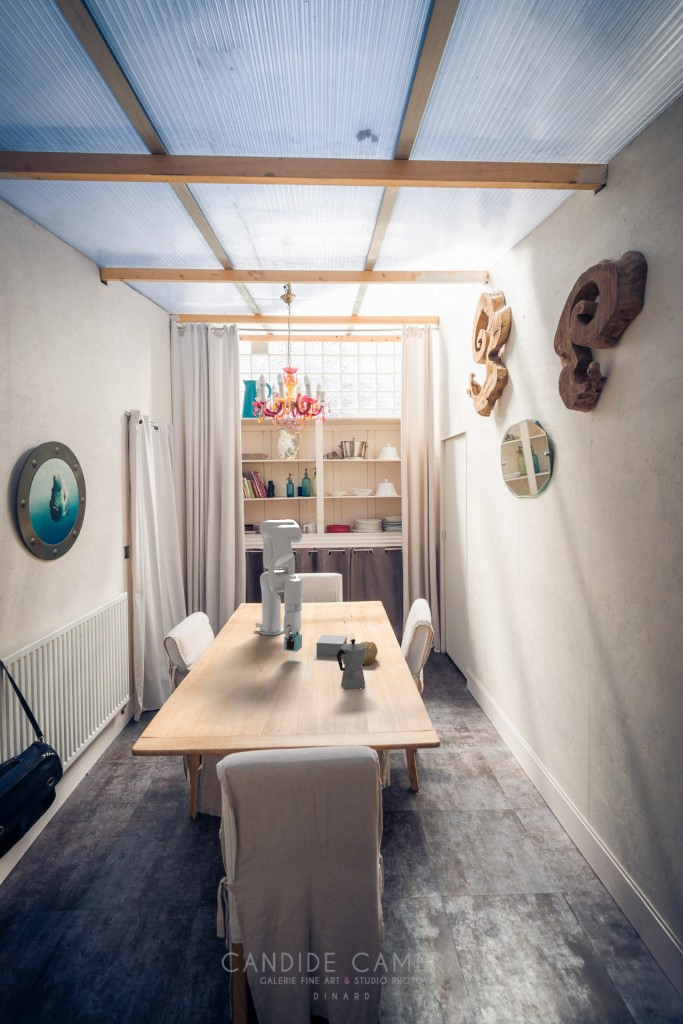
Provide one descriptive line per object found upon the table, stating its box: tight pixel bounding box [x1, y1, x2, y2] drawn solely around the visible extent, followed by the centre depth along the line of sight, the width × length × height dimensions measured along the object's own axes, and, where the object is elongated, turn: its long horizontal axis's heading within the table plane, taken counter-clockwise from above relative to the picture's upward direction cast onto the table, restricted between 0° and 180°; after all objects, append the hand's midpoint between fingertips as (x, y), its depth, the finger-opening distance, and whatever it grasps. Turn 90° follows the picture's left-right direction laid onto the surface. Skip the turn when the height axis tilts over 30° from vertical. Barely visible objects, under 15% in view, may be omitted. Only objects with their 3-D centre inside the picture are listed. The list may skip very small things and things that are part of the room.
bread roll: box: [360, 641, 379, 666], centre depth 232 cm, size 10×15×8 cm, turn 176°
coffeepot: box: [336, 638, 366, 691], centre depth 202 cm, size 15×9×18 cm, turn 137°
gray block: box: [316, 634, 348, 657], centre depth 243 cm, size 12×12×6 cm
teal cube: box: [283, 632, 303, 653], centre depth 233 cm, size 6×6×6 cm
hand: (293, 646), depth 233 cm, fingers closed on teal cube, 6 cm apart
